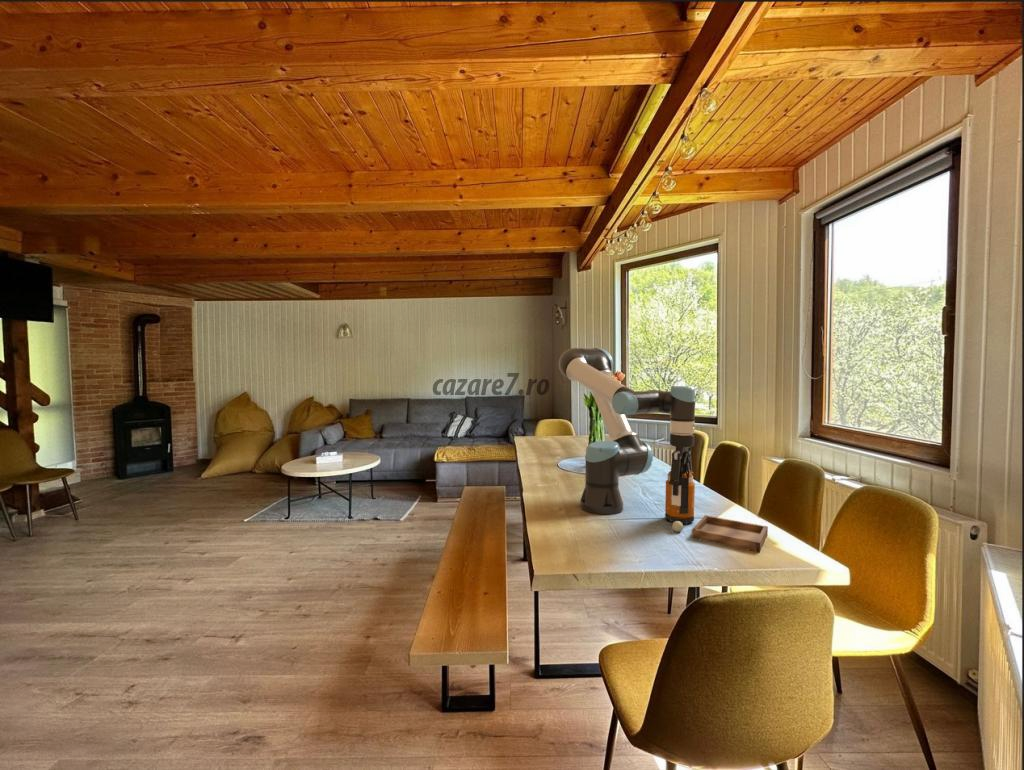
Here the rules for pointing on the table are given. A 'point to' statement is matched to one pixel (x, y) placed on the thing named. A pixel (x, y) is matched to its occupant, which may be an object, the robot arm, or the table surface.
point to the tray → (731, 533)
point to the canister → (687, 498)
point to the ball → (677, 526)
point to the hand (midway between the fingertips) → (680, 500)
